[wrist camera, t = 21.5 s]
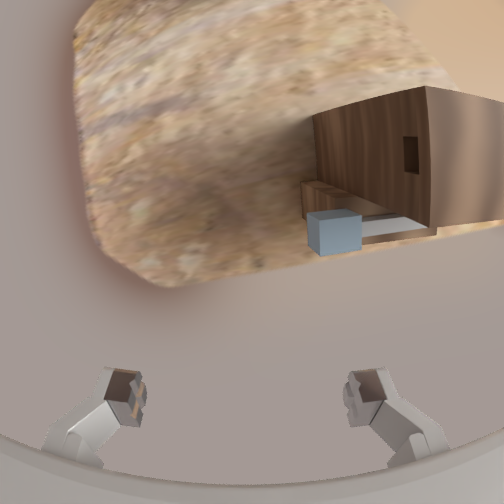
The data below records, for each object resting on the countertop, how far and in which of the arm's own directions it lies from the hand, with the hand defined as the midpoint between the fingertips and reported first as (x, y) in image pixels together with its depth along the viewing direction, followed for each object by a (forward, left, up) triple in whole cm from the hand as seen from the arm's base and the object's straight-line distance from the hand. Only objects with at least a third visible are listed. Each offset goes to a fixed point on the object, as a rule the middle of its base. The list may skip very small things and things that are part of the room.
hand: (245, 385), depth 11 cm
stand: (+12, +16, -37) cm, 42 cm away
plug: (+14, +11, -22) cm, 28 cm away
